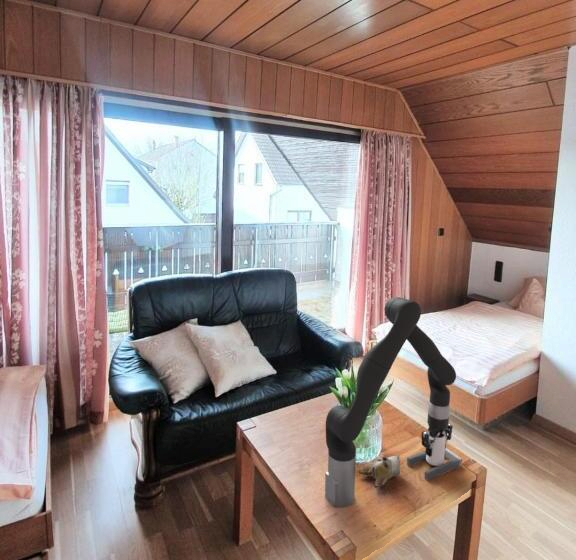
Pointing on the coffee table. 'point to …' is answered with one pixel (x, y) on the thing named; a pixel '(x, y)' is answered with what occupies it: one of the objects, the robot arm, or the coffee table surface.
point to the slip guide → (431, 473)
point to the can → (437, 451)
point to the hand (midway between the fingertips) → (435, 452)
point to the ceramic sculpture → (383, 470)
